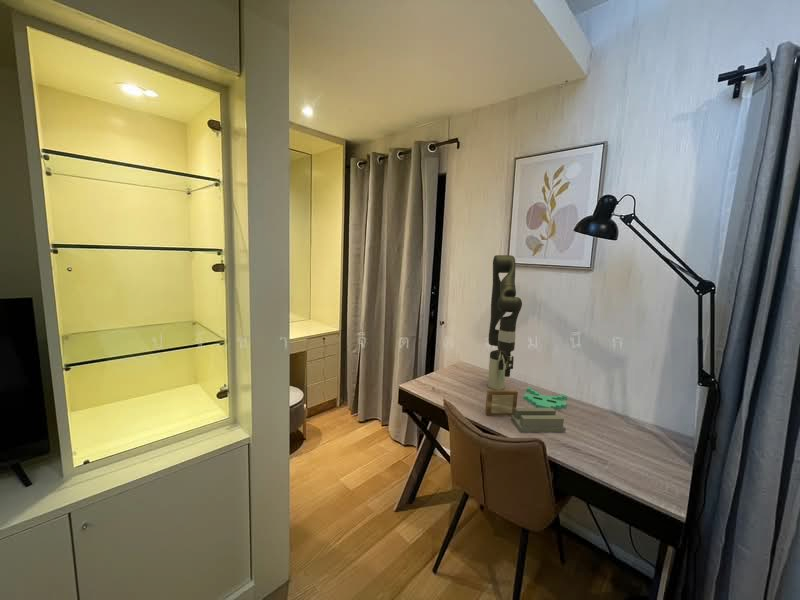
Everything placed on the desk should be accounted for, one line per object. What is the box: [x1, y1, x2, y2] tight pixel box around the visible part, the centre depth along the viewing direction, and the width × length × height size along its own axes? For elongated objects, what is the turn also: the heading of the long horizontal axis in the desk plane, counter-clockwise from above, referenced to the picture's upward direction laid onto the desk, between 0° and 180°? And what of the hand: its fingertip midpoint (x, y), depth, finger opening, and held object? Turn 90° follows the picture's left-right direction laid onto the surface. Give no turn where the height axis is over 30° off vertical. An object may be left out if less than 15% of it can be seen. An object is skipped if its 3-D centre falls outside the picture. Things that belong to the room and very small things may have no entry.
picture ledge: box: [510, 407, 567, 433], centre depth 152 cm, size 11×20×6 cm, turn 93°
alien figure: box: [523, 386, 568, 411], centre depth 177 cm, size 20×2×20 cm
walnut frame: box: [484, 389, 519, 417], centre depth 161 cm, size 3×14×12 cm, turn 93°
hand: (503, 373), depth 158 cm, fingers open, 8 cm apart
